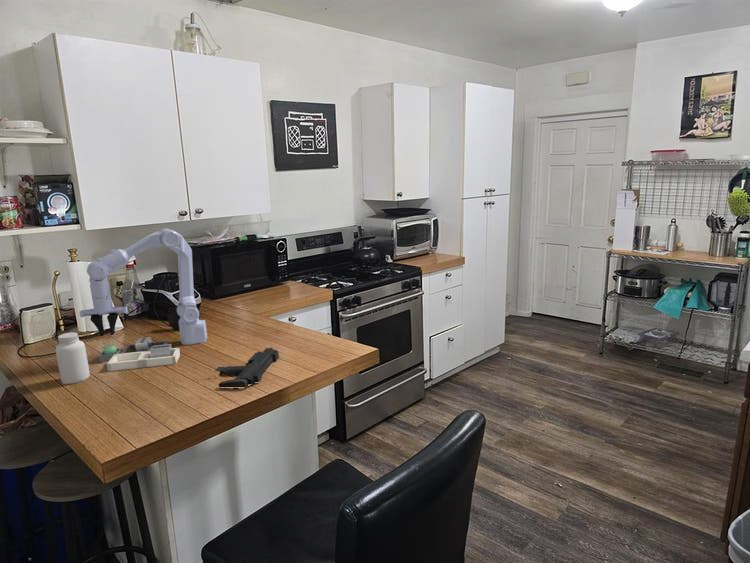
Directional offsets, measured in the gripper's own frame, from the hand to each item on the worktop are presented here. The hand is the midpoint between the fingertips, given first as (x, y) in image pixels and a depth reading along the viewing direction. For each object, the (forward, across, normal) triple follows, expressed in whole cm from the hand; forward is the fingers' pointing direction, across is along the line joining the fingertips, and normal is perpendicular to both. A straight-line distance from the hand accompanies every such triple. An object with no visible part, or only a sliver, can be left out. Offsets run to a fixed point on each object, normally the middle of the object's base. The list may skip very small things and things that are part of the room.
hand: (107, 334), depth 169 cm
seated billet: (+8, -18, +9) cm, 22 cm away
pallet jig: (+9, -13, +9) cm, 18 cm away
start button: (+7, 0, 0) cm, 7 cm away
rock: (+10, -20, -30) cm, 38 cm away
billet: (+9, -10, -2) cm, 14 cm away
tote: (+9, -10, -2) cm, 14 cm away
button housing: (+9, 0, 0) cm, 9 cm away
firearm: (+10, -45, +22) cm, 51 cm away
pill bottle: (+10, +6, +15) cm, 19 cm away
